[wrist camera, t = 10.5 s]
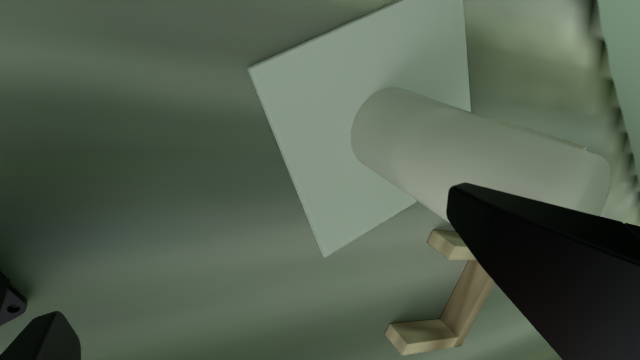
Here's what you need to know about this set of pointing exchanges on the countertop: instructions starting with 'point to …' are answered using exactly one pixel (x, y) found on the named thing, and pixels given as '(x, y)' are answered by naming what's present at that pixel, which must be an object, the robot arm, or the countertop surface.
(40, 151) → the countertop surface
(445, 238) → the holder
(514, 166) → the pale grey rounded piece
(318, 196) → the mat
